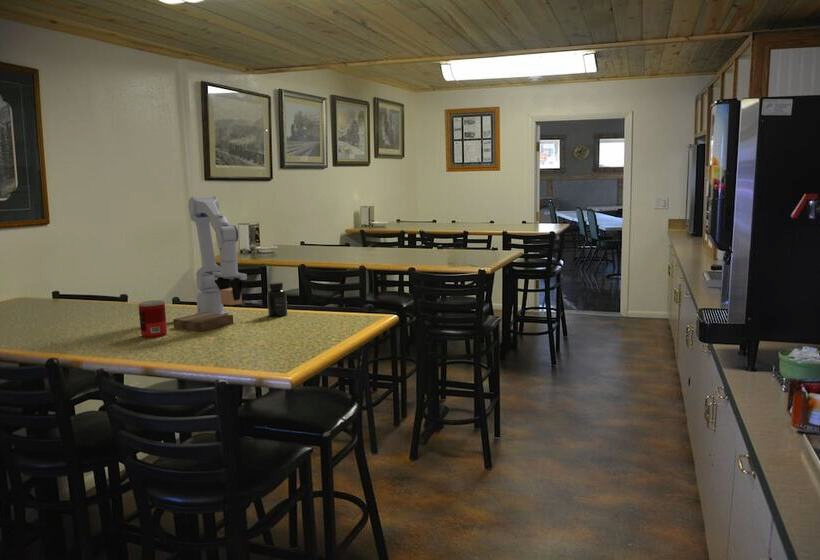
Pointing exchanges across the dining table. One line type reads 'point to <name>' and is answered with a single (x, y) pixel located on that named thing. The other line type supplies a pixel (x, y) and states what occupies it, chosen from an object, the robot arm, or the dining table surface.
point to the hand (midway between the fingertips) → (231, 299)
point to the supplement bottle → (276, 300)
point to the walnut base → (203, 321)
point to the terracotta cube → (229, 297)
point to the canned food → (152, 319)
